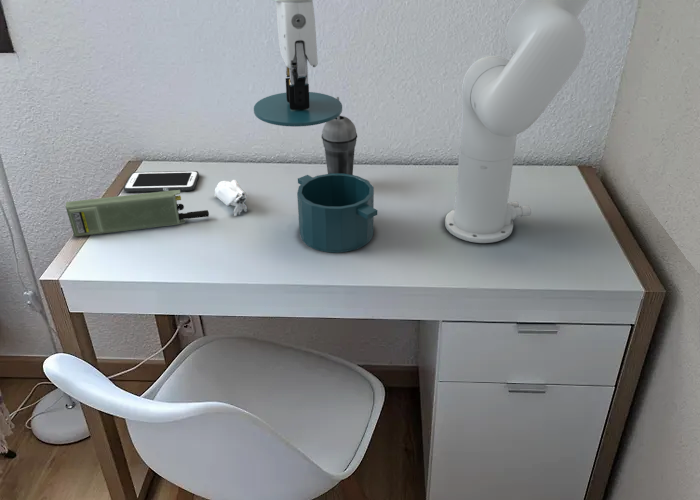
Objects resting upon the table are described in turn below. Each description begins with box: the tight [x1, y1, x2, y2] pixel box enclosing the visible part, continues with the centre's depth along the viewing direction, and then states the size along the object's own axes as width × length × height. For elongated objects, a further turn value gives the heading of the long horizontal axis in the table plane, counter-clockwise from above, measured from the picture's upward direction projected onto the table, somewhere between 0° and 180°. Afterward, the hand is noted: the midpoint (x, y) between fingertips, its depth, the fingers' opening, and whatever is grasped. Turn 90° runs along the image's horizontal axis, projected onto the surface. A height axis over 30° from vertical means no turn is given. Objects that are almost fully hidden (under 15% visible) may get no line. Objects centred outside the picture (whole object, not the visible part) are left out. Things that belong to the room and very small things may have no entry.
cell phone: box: [123, 170, 200, 193], centre depth 140 cm, size 8×15×1 cm, turn 92°
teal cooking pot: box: [296, 173, 378, 254], centre depth 120 cm, size 14×19×9 cm
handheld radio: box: [65, 190, 210, 237], centre depth 124 cm, size 7×3×25 cm
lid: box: [253, 79, 343, 127], centre depth 107 cm, size 15×15×6 cm
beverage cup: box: [321, 96, 358, 175], centre depth 133 cm, size 7×7×20 cm
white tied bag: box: [213, 179, 248, 217], centre depth 131 cm, size 5×7×10 cm
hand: (298, 104), depth 108 cm, fingers closed on lid, 2 cm apart
